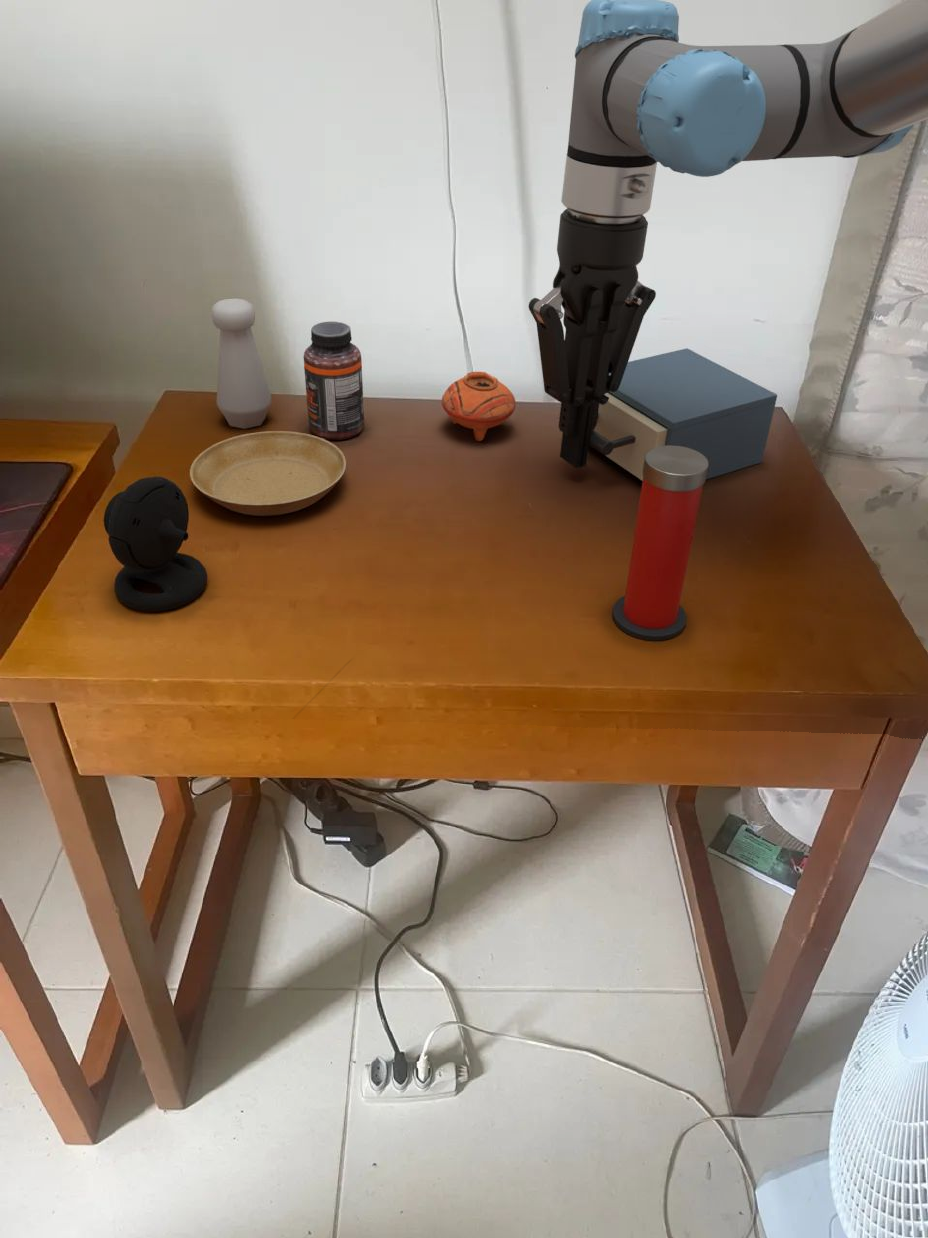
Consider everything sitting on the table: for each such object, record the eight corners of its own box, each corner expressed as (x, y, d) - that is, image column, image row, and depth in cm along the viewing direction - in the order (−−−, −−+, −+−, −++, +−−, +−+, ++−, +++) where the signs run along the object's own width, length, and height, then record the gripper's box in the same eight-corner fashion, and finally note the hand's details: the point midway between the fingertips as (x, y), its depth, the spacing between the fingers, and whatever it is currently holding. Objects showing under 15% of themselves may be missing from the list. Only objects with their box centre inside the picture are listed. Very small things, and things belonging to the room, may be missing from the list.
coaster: (692, 606, 82) (693, 601, 82) (678, 648, 77) (678, 643, 77) (621, 590, 84) (622, 585, 83) (604, 630, 79) (604, 625, 79)
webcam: (159, 552, 86) (139, 450, 80) (227, 576, 84) (211, 472, 78) (94, 598, 81) (67, 491, 75) (165, 625, 78) (143, 517, 72)
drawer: (615, 496, 94) (622, 441, 91) (542, 443, 103) (546, 391, 99) (743, 457, 101) (754, 405, 98) (665, 410, 110) (673, 361, 106)
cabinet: (661, 493, 97) (673, 423, 92) (579, 437, 106) (586, 371, 101) (762, 462, 103) (777, 394, 98) (676, 412, 112) (687, 347, 107)
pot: (483, 403, 111) (496, 352, 106) (520, 445, 107) (535, 394, 103) (423, 416, 108) (432, 364, 103) (458, 460, 104) (470, 408, 99)
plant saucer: (171, 522, 90) (166, 497, 89) (220, 448, 102) (217, 425, 100) (328, 535, 89) (326, 510, 88) (360, 458, 101) (359, 435, 99)
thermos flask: (683, 603, 81) (713, 452, 73) (672, 635, 78) (702, 479, 69) (628, 591, 83) (652, 440, 74) (615, 621, 79) (638, 467, 71)
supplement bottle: (301, 422, 107) (293, 321, 100) (353, 413, 109) (348, 313, 102) (319, 446, 103) (311, 341, 96) (372, 436, 105) (368, 333, 98)
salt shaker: (279, 411, 109) (268, 294, 102) (264, 434, 105) (251, 314, 97) (228, 406, 110) (214, 290, 102) (211, 429, 105) (194, 310, 97)
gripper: (570, 230, 78) (542, 491, 92) (690, 216, 84) (646, 463, 98) (518, 207, 83) (498, 458, 97) (635, 195, 89) (600, 433, 103)
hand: (573, 460), depth 98 cm, fingers closed
